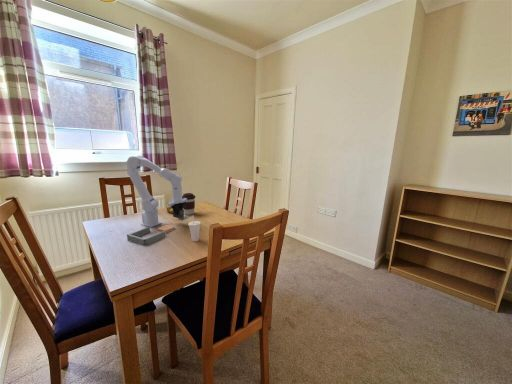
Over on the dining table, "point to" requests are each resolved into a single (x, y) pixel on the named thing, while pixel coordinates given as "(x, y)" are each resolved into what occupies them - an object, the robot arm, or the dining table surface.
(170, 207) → the bread roll
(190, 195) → the coffee cup
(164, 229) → the tile
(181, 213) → the turner
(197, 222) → the smoothie
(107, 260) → the dining table surface
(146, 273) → the dining table surface
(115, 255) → the dining table surface
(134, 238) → the frame
